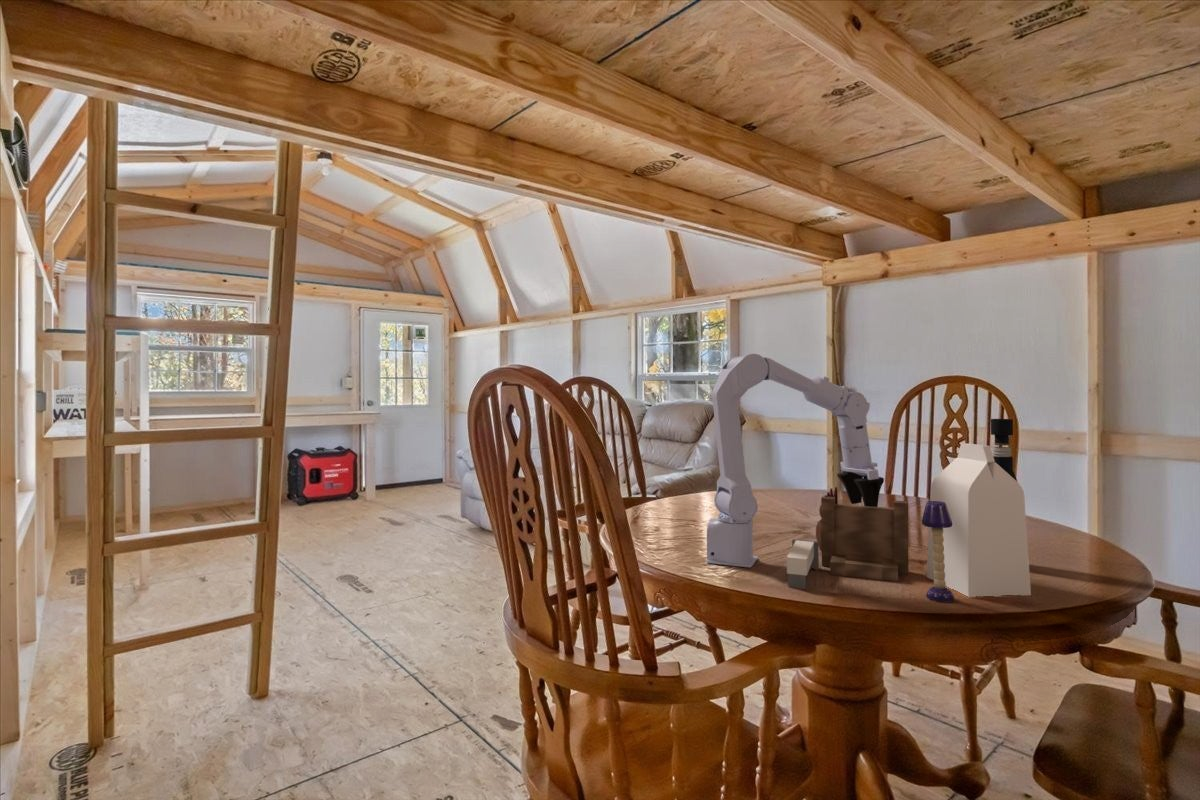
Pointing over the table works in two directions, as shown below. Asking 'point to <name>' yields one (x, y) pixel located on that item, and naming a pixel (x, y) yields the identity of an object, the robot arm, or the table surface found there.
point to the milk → (982, 526)
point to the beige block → (801, 562)
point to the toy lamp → (938, 548)
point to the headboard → (865, 540)
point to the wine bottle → (1003, 454)
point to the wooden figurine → (818, 527)
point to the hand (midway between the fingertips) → (863, 506)
